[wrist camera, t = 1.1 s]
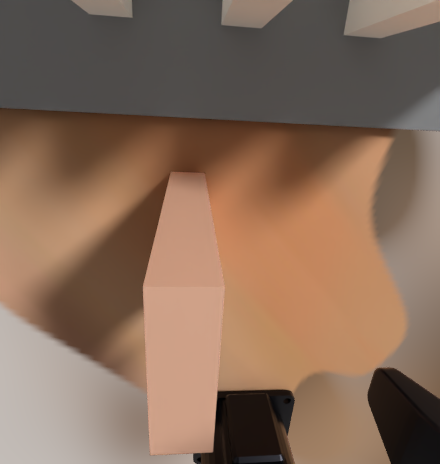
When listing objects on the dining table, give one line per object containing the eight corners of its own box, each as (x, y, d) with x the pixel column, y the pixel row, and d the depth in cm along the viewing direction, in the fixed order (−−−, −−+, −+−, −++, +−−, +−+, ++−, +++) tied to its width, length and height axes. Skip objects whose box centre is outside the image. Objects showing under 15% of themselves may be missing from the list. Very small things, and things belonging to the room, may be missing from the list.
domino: (201, 264, 18) (213, 452, 8) (170, 264, 17) (149, 455, 8) (204, 172, 16) (225, 286, 6) (170, 171, 15) (141, 286, 6)
